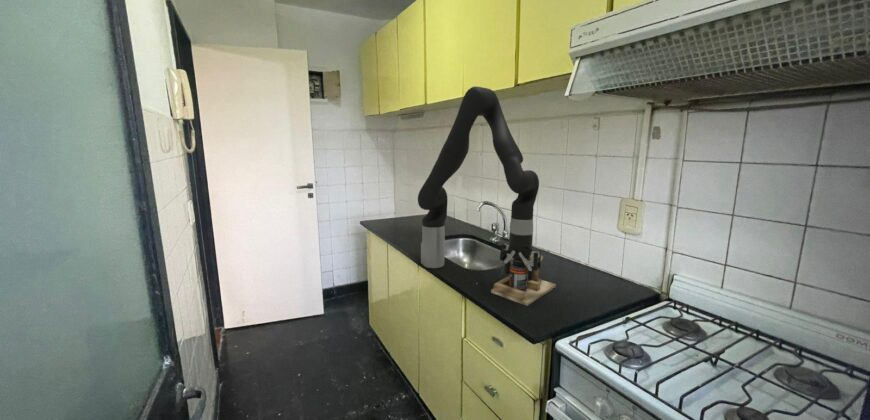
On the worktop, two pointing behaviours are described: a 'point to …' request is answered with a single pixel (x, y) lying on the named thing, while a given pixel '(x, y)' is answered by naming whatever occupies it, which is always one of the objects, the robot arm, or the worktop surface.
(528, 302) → the notched board
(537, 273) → the bobbin post
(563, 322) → the worktop surface
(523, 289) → the supplement bottle
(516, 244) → the robot arm
